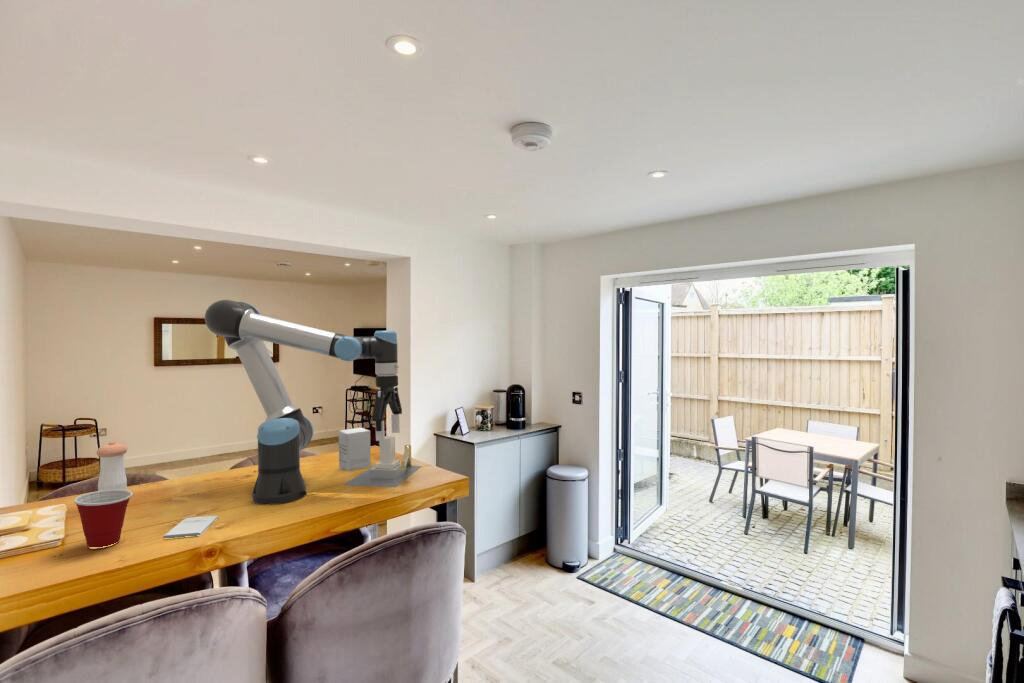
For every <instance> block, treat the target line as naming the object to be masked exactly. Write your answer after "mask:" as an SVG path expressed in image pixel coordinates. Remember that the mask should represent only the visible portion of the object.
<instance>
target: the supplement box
mask: <svg viewBox="0 0 1024 683" xmlns="http://www.w3.org/2000/svg"><path fill="white" fill-rule="evenodd" d="M371 454H372V453H371V430H369V429H366V428H364V427H356V428H355V427H354V428H347V429H340V430H338V470H339V471H341V470H345V471H353V470H359V469H365V468H371V467H372V458H371V457H372V456H371Z"/></svg>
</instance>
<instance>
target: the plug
mask: <svg viewBox="0 0 1024 683" xmlns="http://www.w3.org/2000/svg"><path fill="white" fill-rule="evenodd" d="M384 439H385V440H384V441H378V442H379V445H378V446H379V460H378V461H377V462H375V463H374V466H375V468H379V469H393V468H395V467H396V466H398V465H399V464H400V463H401V460H400V459H396V436H389V435H388V436H387V435H384Z"/></svg>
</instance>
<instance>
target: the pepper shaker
mask: <svg viewBox="0 0 1024 683" xmlns="http://www.w3.org/2000/svg"><path fill="white" fill-rule="evenodd" d="M127 451H128V447H127V445H126V444H124V443H122V442H121V443H120V442H119V443H118V442H116V441H113V440H112V441H109V442H108V444H103V445H101V446H99V447H98V449H96V455H97V457H99V459H100V460H99V465H100V466H99V469H100V470H99V475H98V476H99V477H98V483H97V491H102V490H120V489H121V490H128V479H127V474H126V470H125V454H126V453H127Z"/></svg>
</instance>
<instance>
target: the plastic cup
mask: <svg viewBox="0 0 1024 683" xmlns="http://www.w3.org/2000/svg"><path fill="white" fill-rule="evenodd" d="M132 496H133V491H131V490H128V489H127V490H121V489H120V490H102V491H98V490H97V491H91V492H86V493H84V494H81V495H78V496H77V497H75V498H74V501H73V503H75V504H76V506H77V510H78V514H79V517H80V522H81V526H82V530H83V535H84V536H85V541H86V542H85V543H86V545H87V547H88V546H89V547H103V546H108V545H111V544H114V543H116V542H118V541H119V542H120V540H121V535H122V529H123V526H124V523H125V522H124V521H125V516H126V511H127V507H128V505H129V504H128V502H129V501H130V499H131V498H132ZM129 503H130V502H129ZM127 504H128V505H127ZM119 542H118V543H119Z"/></svg>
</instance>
